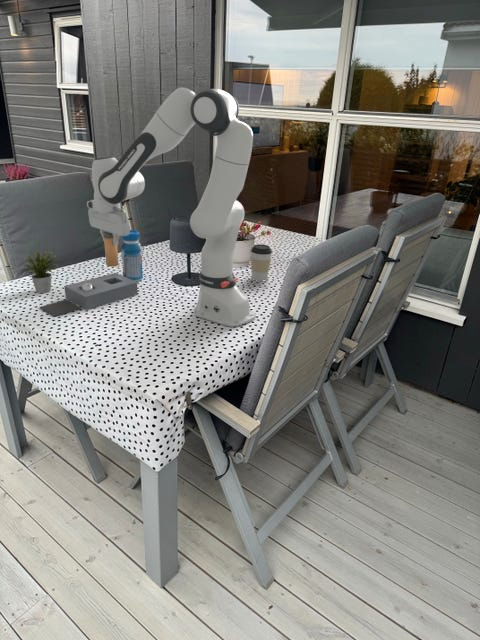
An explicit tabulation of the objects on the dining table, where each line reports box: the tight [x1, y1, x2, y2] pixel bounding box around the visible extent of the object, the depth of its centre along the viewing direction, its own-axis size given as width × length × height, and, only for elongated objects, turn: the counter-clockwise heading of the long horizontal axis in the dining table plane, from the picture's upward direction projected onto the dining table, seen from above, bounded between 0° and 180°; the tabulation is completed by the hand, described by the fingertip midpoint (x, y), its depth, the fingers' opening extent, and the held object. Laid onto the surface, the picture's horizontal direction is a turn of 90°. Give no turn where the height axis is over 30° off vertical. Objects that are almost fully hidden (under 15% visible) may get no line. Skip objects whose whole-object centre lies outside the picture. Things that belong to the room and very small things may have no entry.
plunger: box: [82, 283, 92, 291], centre depth 164 cm, size 4×4×6 cm
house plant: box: [22, 248, 61, 294], centre depth 167 cm, size 14×14×16 cm
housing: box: [64, 272, 139, 311], centre depth 168 cm, size 22×14×5 cm, turn 139°
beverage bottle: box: [120, 229, 144, 283], centre depth 184 cm, size 8×8×20 cm
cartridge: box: [102, 232, 119, 268], centre depth 165 cm, size 5×5×12 cm
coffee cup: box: [250, 244, 273, 282], centre depth 193 cm, size 9×9×15 cm
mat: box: [39, 299, 82, 318], centre depth 157 cm, size 10×10×1 cm
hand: (110, 243), depth 165 cm, fingers closed on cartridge, 4 cm apart
